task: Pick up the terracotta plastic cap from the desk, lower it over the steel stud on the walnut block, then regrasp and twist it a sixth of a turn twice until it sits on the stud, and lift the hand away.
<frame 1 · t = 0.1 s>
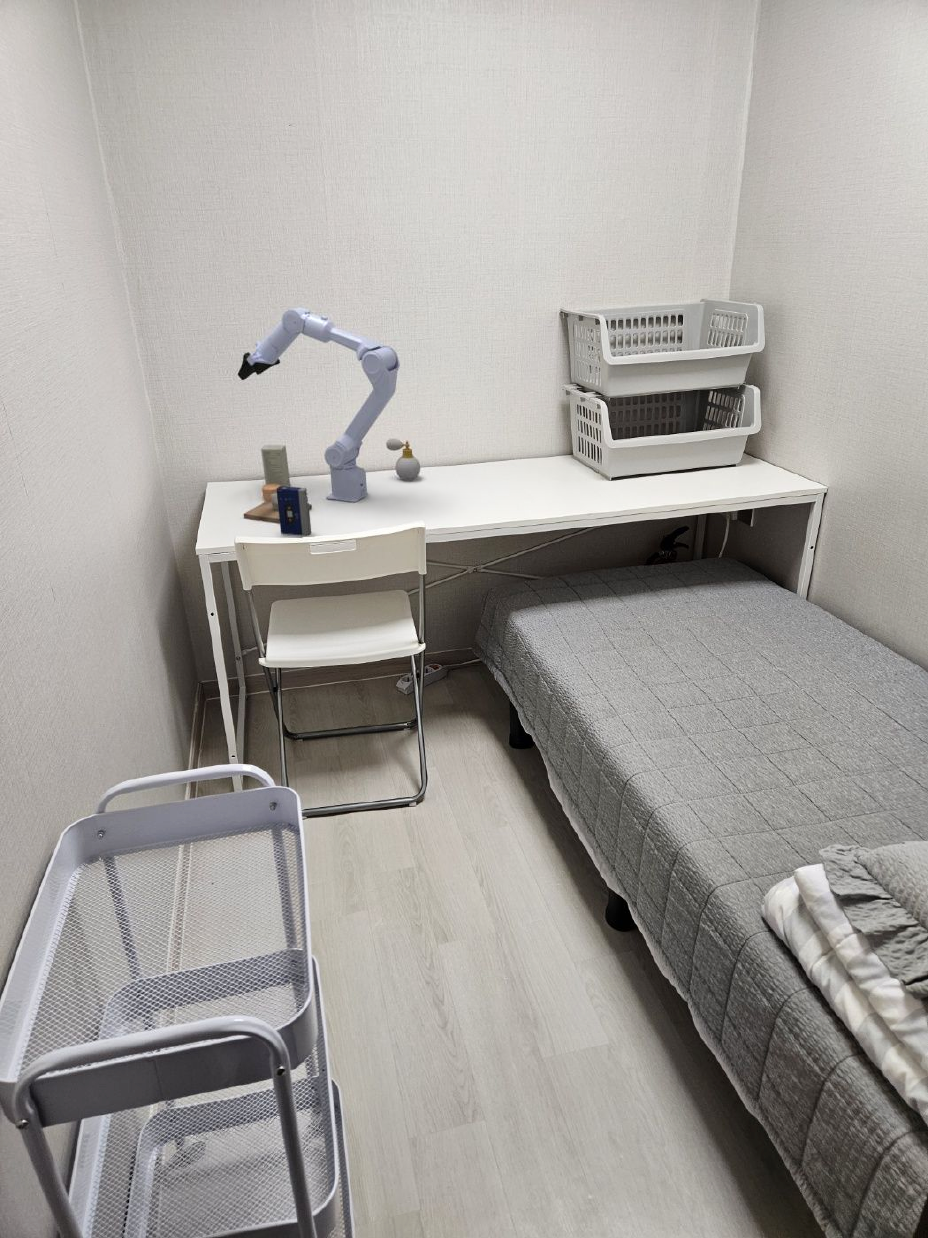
hand: (248, 374, 229), 32 cm above the table, tool tilted 50°, fingers open, 7 cm apart
skincare box: (278, 488, 242), on the table
stud block: (278, 513, 222), on the table
perfume bottle: (404, 479, 250), on the table
cap: (273, 498, 233), on the table
cassette player: (296, 533, 209), on the table
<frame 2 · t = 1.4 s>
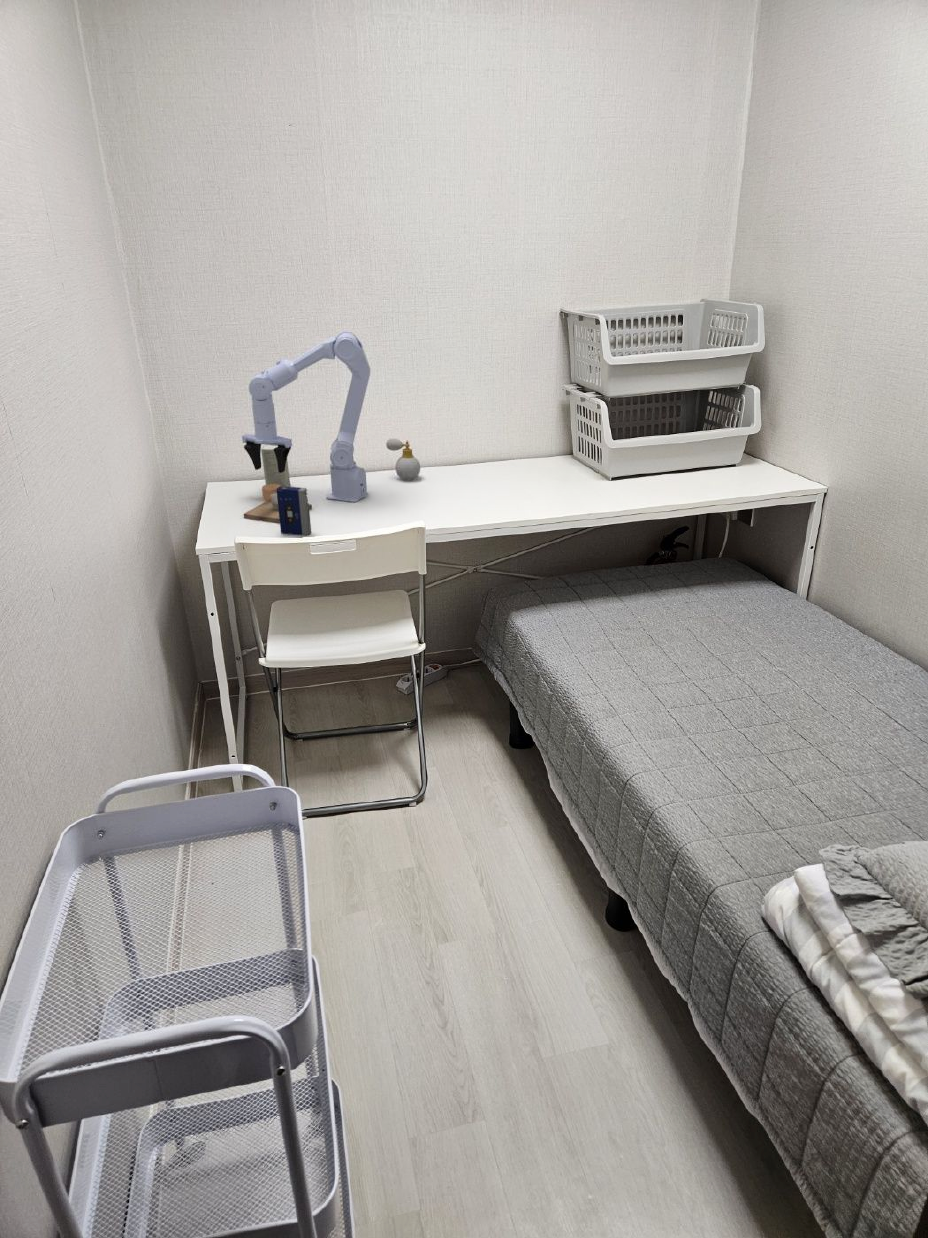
hand: (269, 470, 229), 8 cm above the table, tool pointing down, fingers open, 7 cm apart
nothing on the table moved.
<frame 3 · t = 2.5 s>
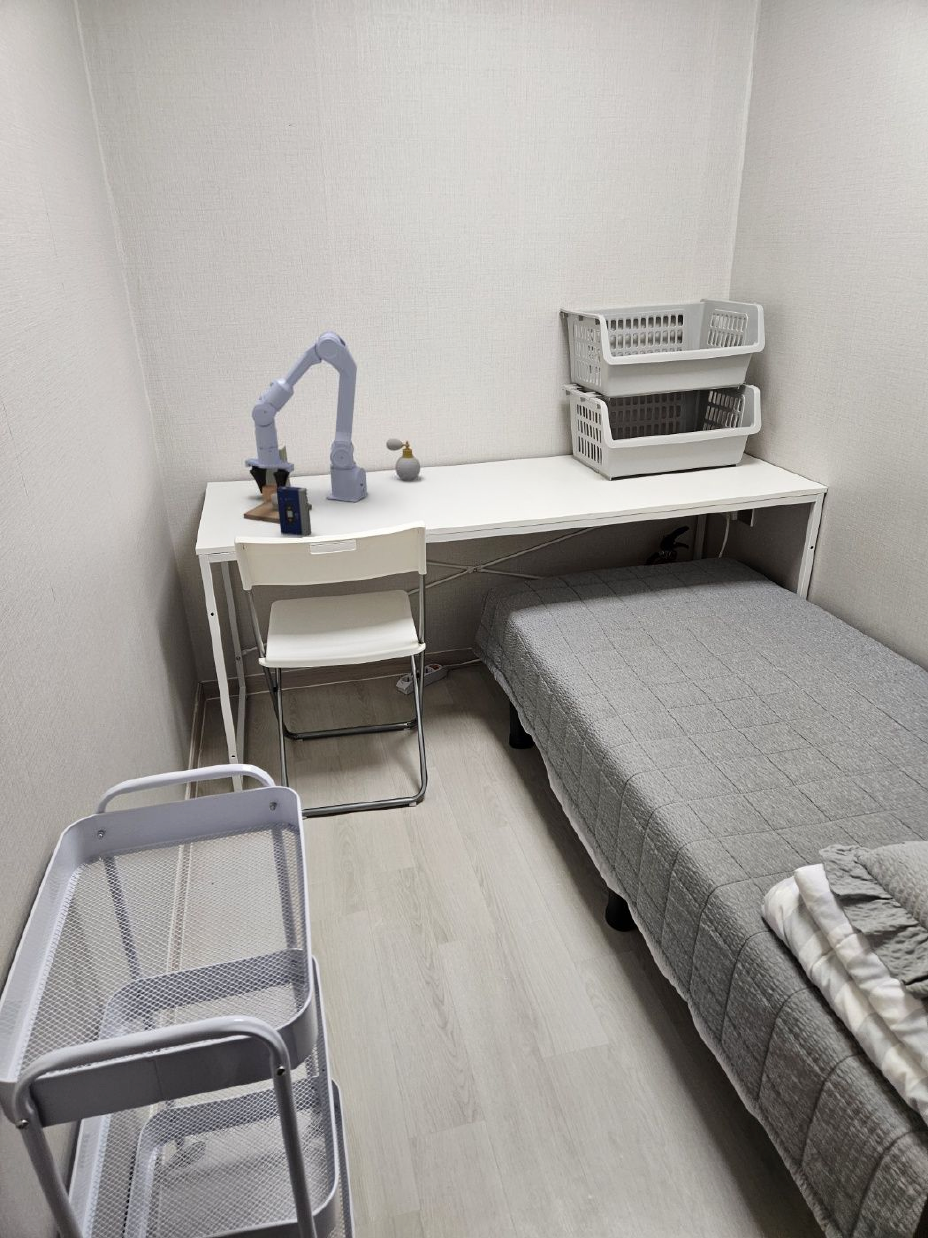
hand: (272, 493, 232), 1 cm above the table, tool pointing down, fingers closed on cap, 5 cm apart
cap: (273, 498, 233), on the table, touching gripper
everything else where it was.
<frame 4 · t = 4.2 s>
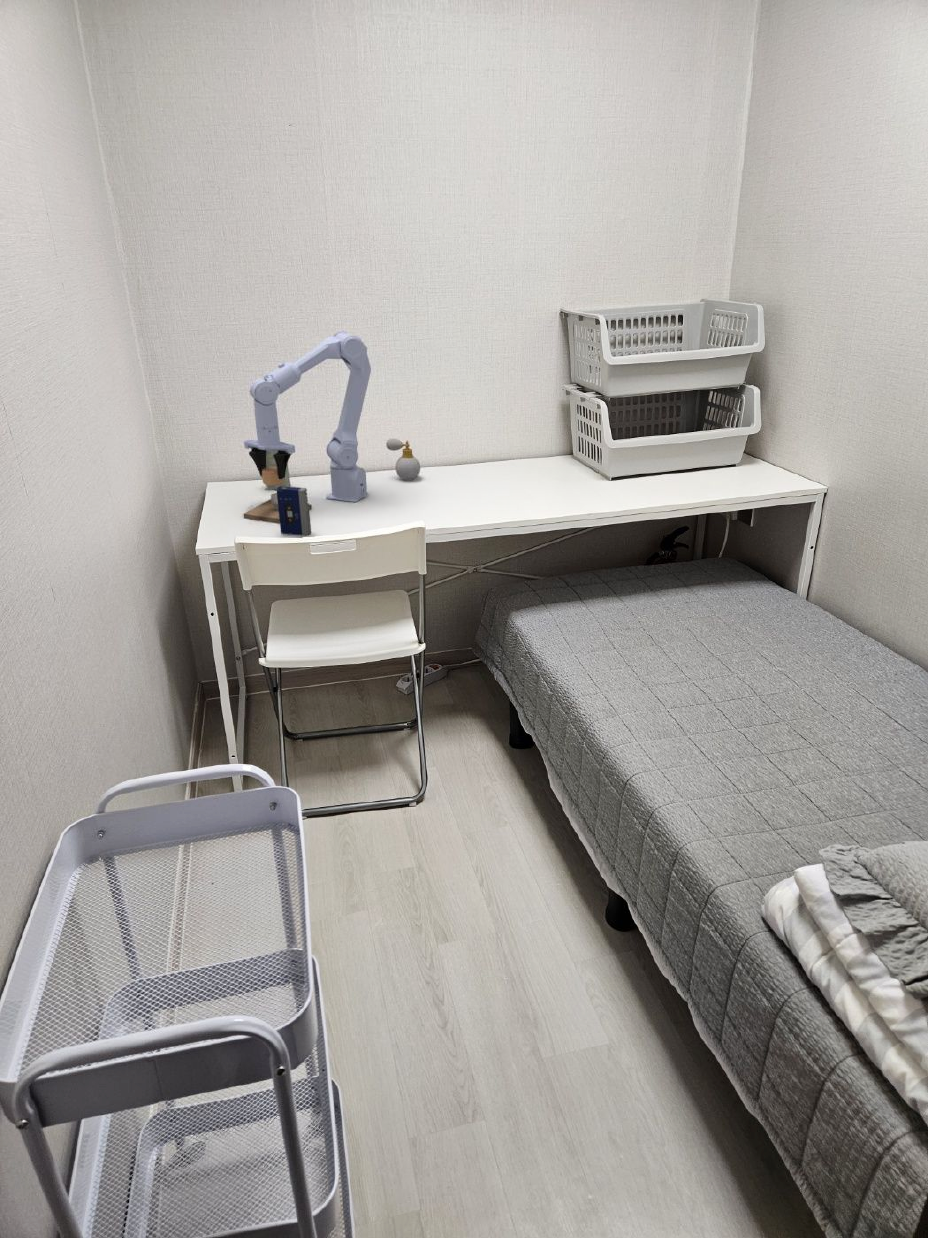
hand: (272, 476, 223), 8 cm above the table, tool pointing down, fingers closed on cap, 5 cm apart
cap: (273, 481, 224), point 7 cm above the table, touching gripper
everything else where it was.
when the fingers open (4 cm above the table, at t = 6.1 s): cap stays where it is, resting on stud block.
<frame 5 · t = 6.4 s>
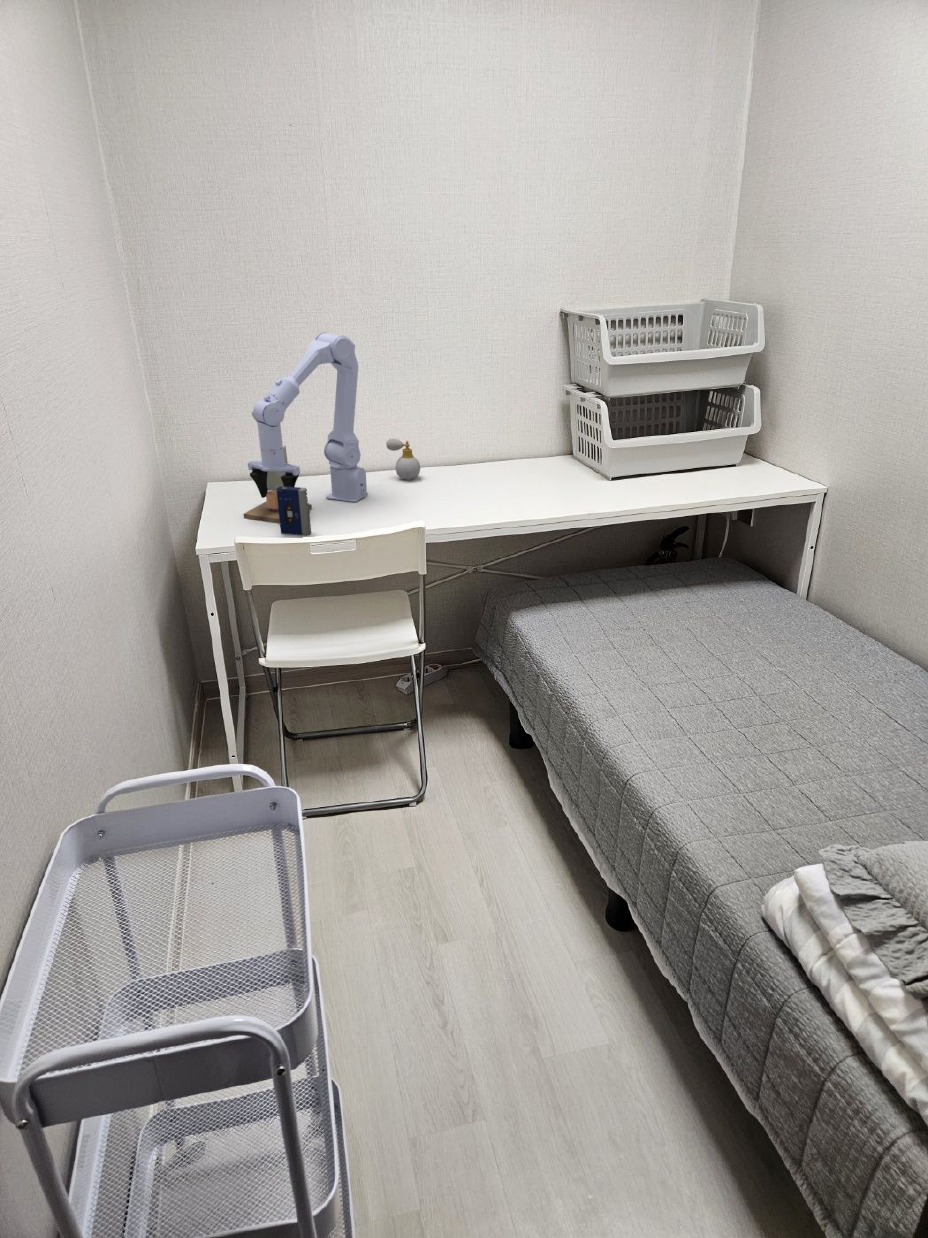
hand: (276, 498, 220), 4 cm above the table, tool pointing down, fingers open, 7 cm apart
cap: (277, 505, 221), point 2 cm above the table, touching stud block
everything else where it was.
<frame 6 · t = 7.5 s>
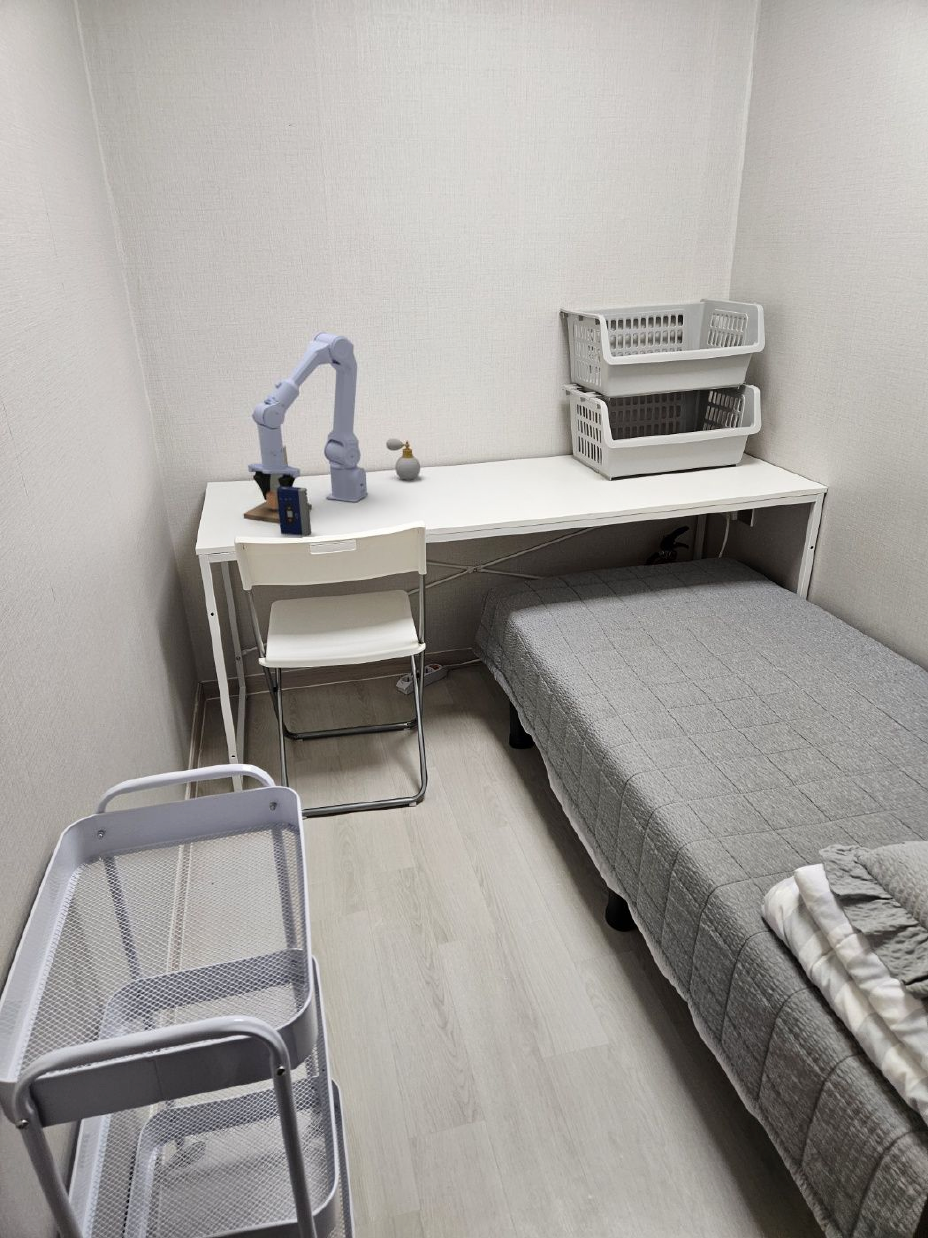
hand: (277, 500, 220), 4 cm above the table, tool pointing down, fingers closed on cap, 5 cm apart
cap: (277, 505, 221), point 2 cm above the table, touching gripper
everything else where it was.
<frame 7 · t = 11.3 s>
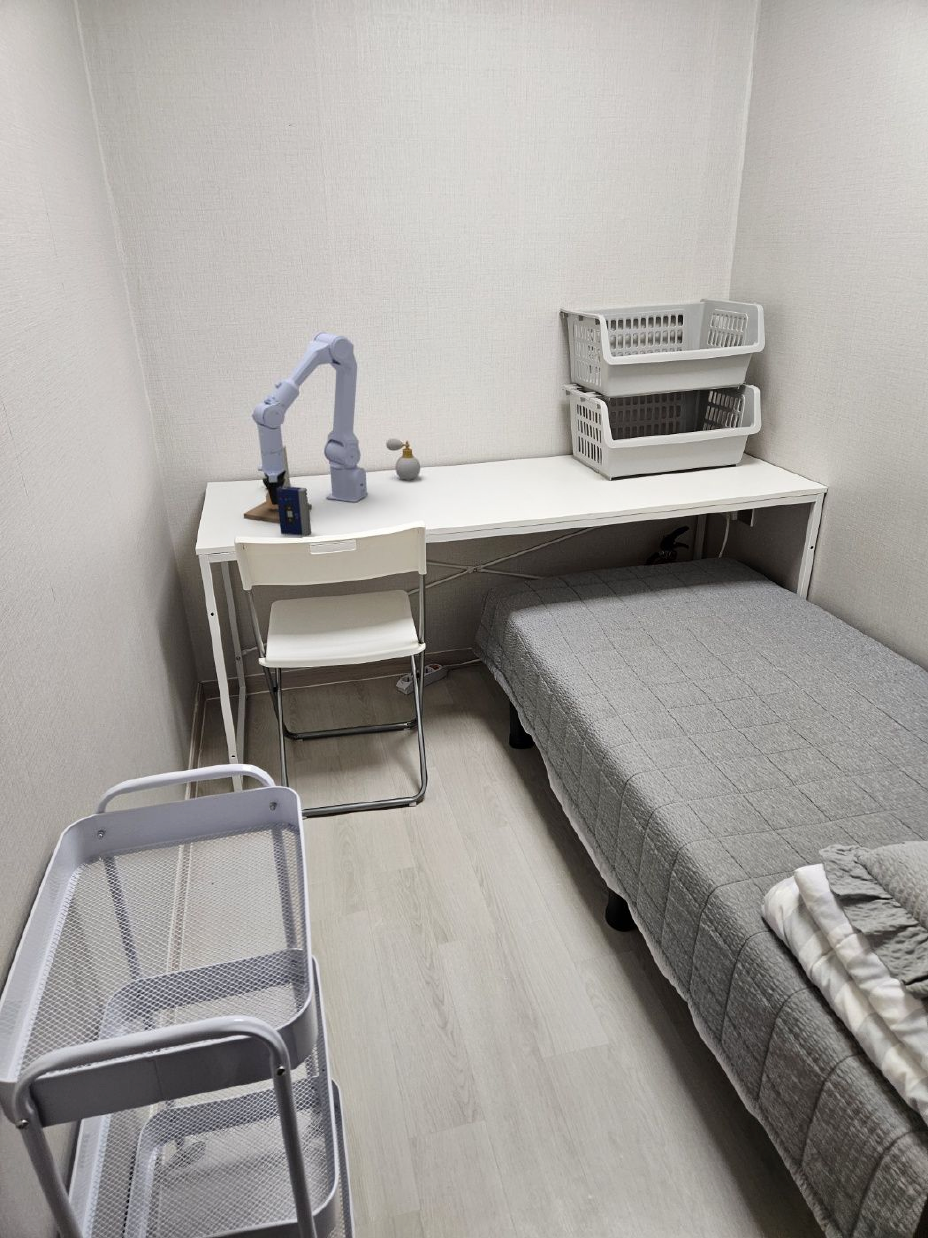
hand: (277, 500, 220), 4 cm above the table, tool pointing down, fingers closed on cap, 5 cm apart
cap: (277, 505, 221), point 2 cm above the table, touching gripper
everything else where it was.
when the fingers open (4 cm above the table, at t = 11.7 s): cap stays where it is, resting on stud block.
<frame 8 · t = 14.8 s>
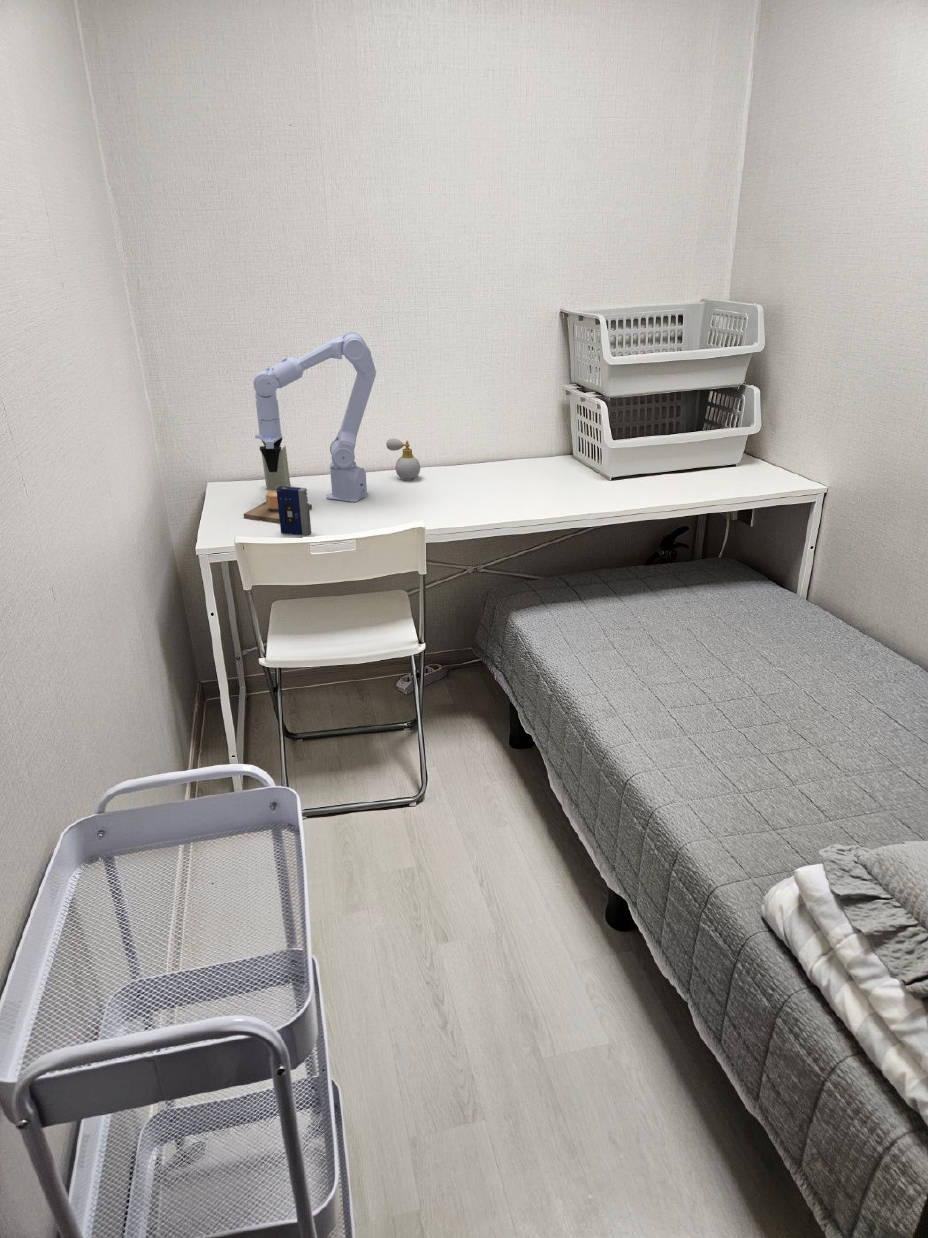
hand: (273, 467, 227), 9 cm above the table, tool pointing down, fingers open, 7 cm apart
cap: (277, 505, 221), point 2 cm above the table, touching stud block
everything else where it was.
at the end: cap 0.0 cm off-centre on the stud block, point 2.2 cm above the stud block's base; cap tilted 0°; the gripper is holding nothing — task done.
